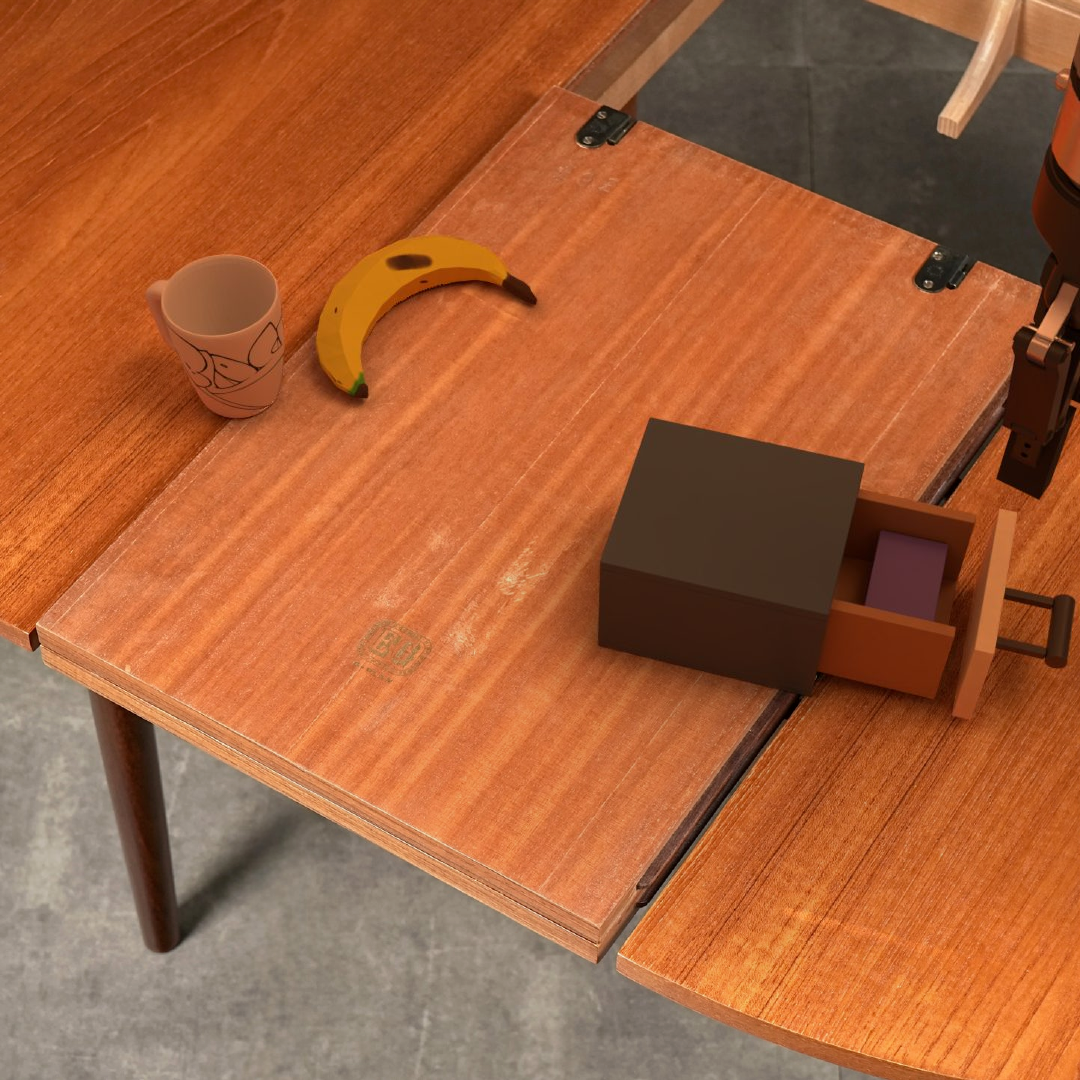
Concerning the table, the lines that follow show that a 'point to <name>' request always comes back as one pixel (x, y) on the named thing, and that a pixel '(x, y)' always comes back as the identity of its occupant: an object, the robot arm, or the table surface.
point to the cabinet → (727, 555)
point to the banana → (397, 295)
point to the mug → (224, 331)
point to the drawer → (923, 646)
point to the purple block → (906, 575)
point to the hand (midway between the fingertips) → (1023, 480)
